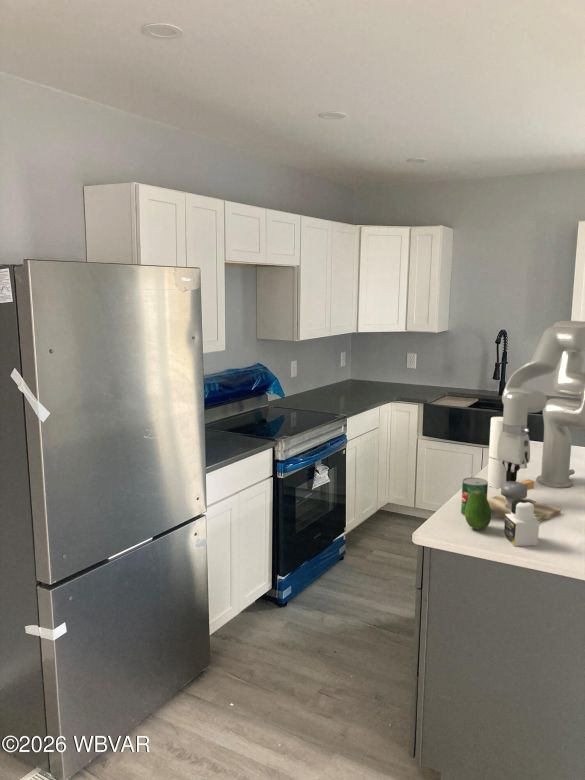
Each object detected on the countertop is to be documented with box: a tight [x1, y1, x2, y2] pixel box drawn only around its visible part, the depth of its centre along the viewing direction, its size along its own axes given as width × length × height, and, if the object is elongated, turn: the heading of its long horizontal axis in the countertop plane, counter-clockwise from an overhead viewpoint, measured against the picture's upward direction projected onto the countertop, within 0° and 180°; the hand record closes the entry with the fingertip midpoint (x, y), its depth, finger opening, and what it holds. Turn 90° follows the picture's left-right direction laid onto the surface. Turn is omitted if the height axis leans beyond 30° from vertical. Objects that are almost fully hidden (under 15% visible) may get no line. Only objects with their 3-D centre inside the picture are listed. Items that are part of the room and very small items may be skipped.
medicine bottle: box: [503, 499, 540, 547], centre depth 180 cm, size 7×7×12 cm
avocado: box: [464, 490, 493, 530], centre depth 189 cm, size 8×8×12 cm
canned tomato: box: [460, 477, 489, 517], centre depth 202 cm, size 8×8×11 cm
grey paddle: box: [500, 479, 535, 499], centre depth 205 cm, size 13×8×3 cm, turn 124°
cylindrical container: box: [487, 416, 506, 489], centre depth 229 cm, size 7×7×25 cm
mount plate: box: [487, 494, 562, 523], centre depth 205 cm, size 18×20×6 cm
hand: (511, 481), depth 212 cm, fingers closed
